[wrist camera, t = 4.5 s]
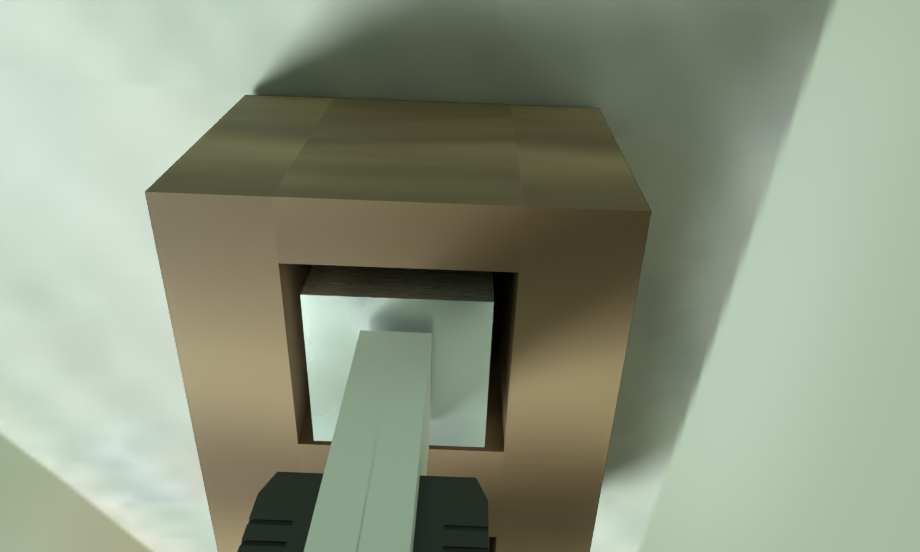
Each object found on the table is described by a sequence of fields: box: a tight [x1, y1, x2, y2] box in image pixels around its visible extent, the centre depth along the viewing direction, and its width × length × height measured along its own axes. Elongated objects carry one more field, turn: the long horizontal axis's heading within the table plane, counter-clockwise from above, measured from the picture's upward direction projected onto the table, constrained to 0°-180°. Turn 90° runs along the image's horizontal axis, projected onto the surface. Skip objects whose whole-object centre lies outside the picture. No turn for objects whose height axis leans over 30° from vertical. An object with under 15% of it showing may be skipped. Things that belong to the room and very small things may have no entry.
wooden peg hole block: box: [145, 95, 651, 552], centre depth 21 cm, size 16×10×7 cm, turn 178°
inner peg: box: [300, 265, 494, 447], centre depth 18 cm, size 4×4×6 cm
